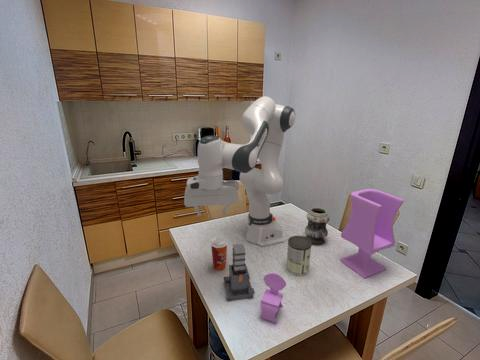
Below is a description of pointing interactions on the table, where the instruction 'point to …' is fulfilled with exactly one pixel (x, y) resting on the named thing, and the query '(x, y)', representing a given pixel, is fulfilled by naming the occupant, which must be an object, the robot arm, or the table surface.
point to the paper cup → (219, 252)
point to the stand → (238, 285)
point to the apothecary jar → (317, 225)
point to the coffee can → (298, 255)
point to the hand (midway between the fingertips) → (212, 215)
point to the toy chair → (272, 296)
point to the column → (238, 259)
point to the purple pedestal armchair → (370, 228)
